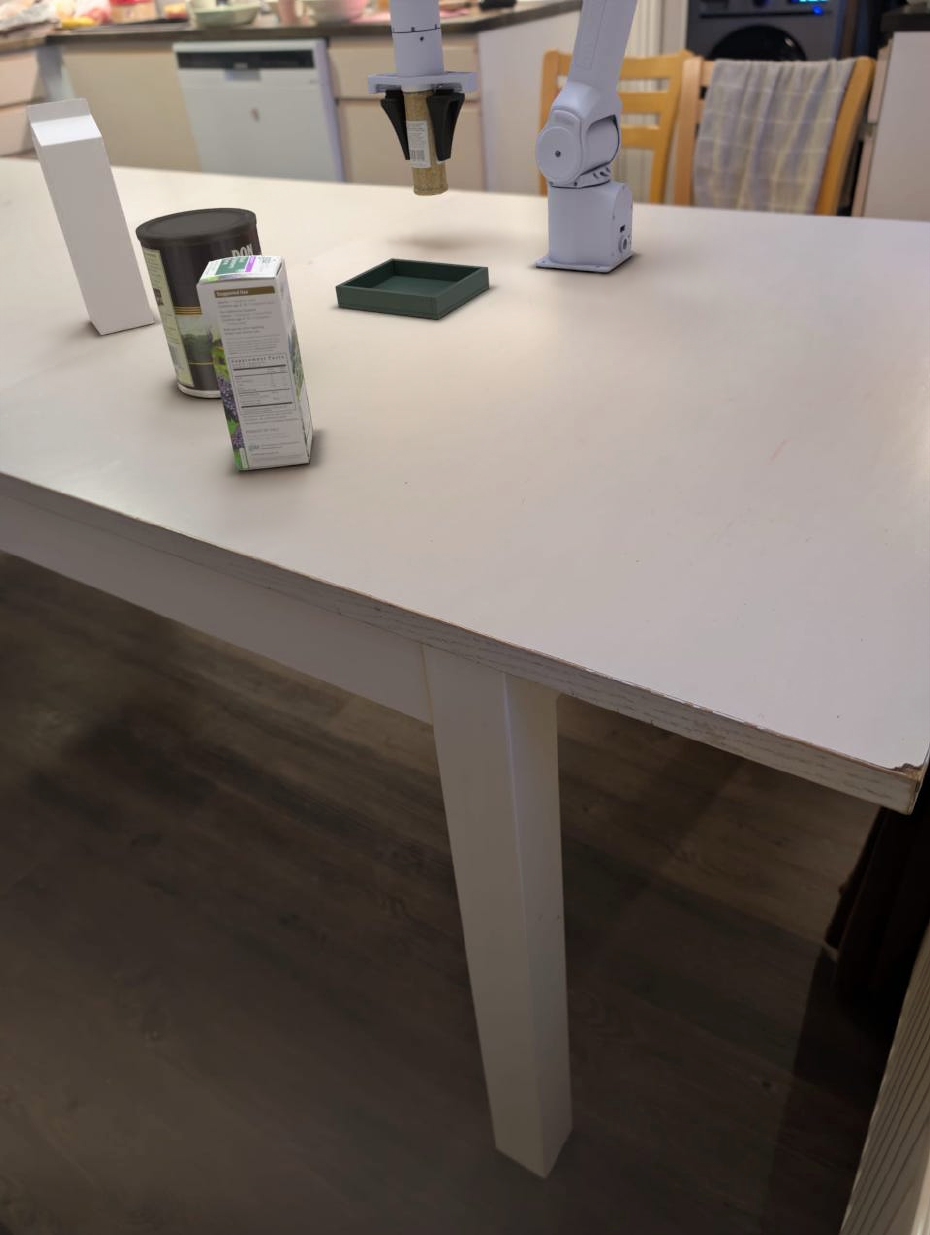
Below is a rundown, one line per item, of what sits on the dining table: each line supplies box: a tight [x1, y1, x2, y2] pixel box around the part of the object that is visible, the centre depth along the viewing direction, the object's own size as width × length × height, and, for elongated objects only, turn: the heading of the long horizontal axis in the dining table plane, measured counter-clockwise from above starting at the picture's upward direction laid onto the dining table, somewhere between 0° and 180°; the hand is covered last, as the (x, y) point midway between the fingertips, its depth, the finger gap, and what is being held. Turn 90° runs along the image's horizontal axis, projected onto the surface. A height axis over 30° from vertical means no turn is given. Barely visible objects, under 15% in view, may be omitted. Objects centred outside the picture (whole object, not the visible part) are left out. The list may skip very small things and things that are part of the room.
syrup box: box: [196, 254, 314, 471], centre depth 68 cm, size 6×6×14 cm
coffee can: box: [134, 207, 263, 399], centre depth 83 cm, size 10×10×14 cm
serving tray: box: [334, 257, 490, 320], centre depth 102 cm, size 13×11×2 cm
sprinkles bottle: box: [401, 84, 449, 197], centre depth 112 cm, size 5×5×13 cm
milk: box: [25, 97, 155, 336], centre depth 96 cm, size 6×6×22 cm
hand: (428, 159), depth 113 cm, fingers closed on sprinkles bottle, 4 cm apart
